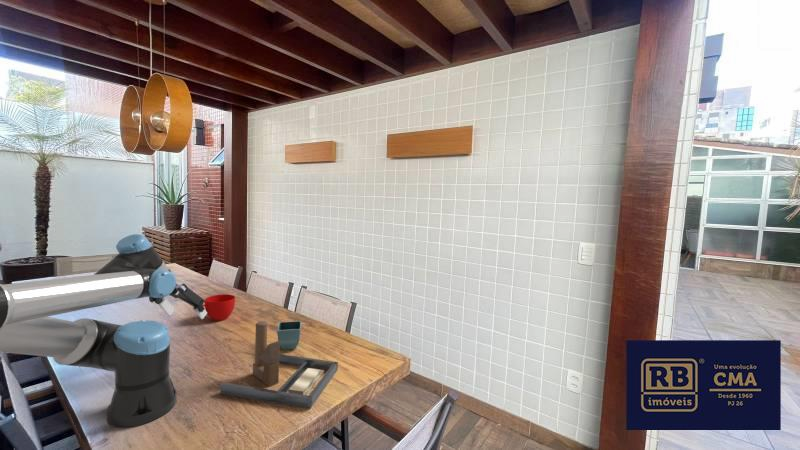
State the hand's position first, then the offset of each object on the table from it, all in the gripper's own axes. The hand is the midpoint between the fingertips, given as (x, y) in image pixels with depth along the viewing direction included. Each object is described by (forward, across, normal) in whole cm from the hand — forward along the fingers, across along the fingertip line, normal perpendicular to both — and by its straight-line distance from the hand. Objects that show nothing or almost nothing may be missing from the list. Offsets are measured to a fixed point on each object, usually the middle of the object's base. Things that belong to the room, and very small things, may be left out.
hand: (187, 314), depth 119 cm
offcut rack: (+9, -42, +15) cm, 46 cm away
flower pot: (+22, -32, -4) cm, 39 cm away
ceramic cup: (+32, +15, -18) cm, 39 cm away
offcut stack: (+9, -50, +16) cm, 53 cm away
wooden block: (+9, -36, +15) cm, 40 cm away
